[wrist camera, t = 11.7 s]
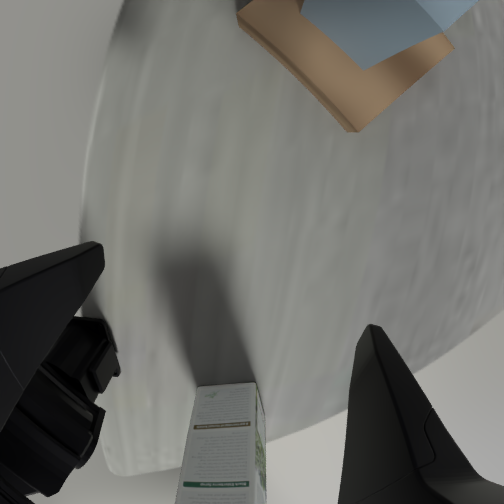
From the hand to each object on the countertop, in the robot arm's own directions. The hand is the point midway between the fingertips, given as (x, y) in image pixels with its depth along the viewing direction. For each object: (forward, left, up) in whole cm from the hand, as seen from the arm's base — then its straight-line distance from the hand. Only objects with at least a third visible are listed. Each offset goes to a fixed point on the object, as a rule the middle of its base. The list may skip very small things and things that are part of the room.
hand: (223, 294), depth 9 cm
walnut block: (+7, +12, -12) cm, 19 cm away
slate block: (+7, +12, -9) cm, 17 cm away
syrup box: (-1, -19, -12) cm, 22 cm away
